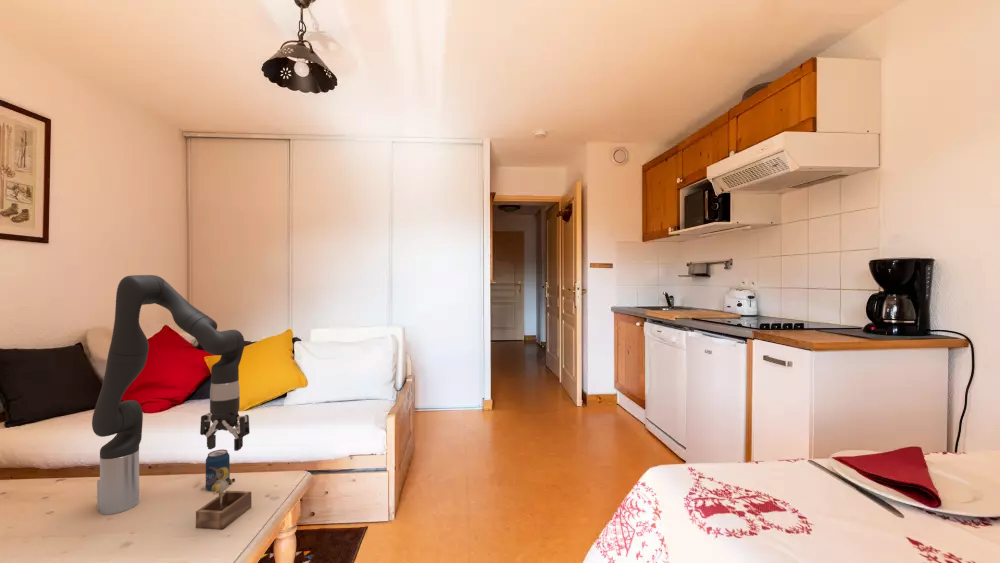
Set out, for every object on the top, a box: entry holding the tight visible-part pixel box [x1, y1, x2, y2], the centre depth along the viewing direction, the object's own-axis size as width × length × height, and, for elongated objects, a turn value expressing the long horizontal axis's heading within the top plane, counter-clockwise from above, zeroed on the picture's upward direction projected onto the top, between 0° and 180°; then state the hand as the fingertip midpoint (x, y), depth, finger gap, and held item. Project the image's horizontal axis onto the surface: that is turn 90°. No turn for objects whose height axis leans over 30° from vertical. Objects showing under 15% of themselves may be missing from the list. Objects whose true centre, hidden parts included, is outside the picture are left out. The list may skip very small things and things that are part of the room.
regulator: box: [212, 467, 236, 511], centre depth 126 cm, size 8×4×15 cm, turn 169°
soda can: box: [205, 449, 231, 492], centre depth 145 cm, size 7×7×12 cm
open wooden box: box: [195, 490, 252, 531], centre depth 126 cm, size 8×12×5 cm
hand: (224, 449), depth 126 cm, fingers open, 8 cm apart
